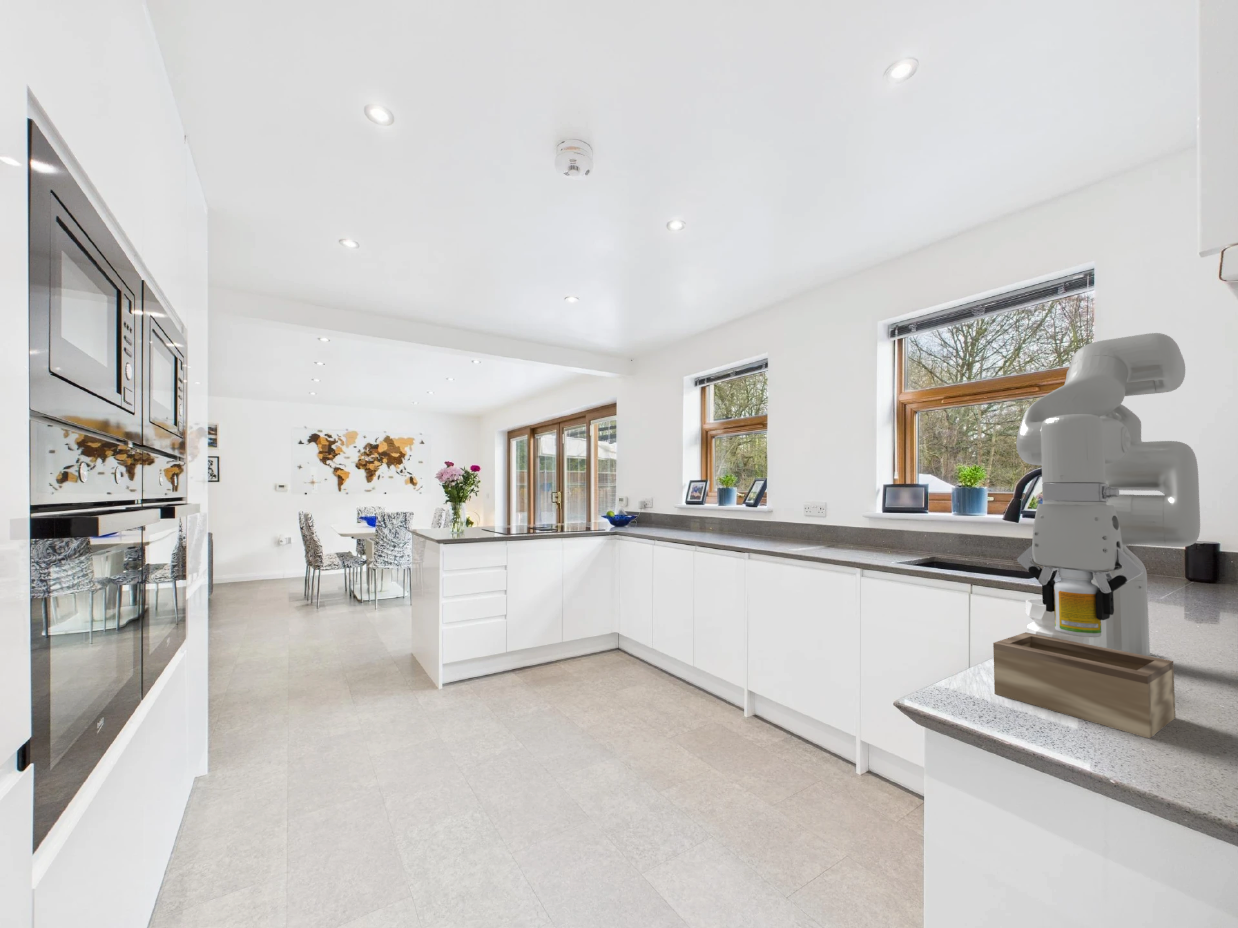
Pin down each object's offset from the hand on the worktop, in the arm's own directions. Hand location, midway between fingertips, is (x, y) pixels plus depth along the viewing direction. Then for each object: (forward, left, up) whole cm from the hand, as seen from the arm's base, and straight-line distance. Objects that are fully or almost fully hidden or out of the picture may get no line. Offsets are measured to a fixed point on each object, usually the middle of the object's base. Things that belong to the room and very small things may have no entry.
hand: (1077, 613), depth 82 cm
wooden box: (0, 0, -14) cm, 14 cm away
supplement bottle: (0, 0, -3) cm, 3 cm away
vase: (-16, -8, -14) cm, 23 cm away
